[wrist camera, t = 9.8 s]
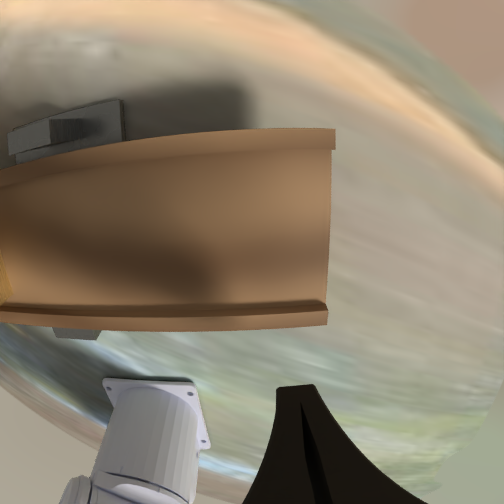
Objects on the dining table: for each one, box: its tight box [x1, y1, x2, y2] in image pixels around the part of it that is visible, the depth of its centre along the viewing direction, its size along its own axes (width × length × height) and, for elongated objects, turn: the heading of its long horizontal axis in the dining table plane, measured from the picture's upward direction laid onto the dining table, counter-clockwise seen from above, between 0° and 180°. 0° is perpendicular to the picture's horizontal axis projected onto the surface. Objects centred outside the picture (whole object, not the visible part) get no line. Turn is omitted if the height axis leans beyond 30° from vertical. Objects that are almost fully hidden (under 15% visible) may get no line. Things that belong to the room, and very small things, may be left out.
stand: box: [7, 100, 126, 340], centre depth 16 cm, size 13×8×4 cm, turn 2°
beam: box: [0, 128, 335, 332], centre depth 14 cm, size 9×28×6 cm, turn 92°
